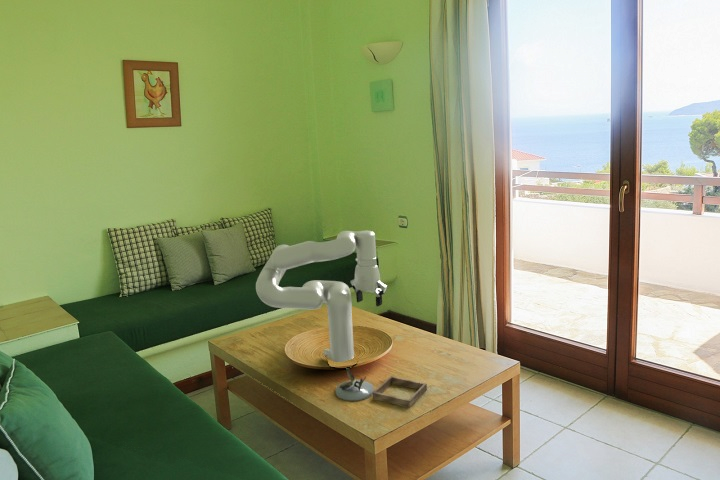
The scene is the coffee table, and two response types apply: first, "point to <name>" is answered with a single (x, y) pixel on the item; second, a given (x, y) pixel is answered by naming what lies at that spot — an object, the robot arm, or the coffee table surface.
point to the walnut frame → (396, 400)
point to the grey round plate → (355, 391)
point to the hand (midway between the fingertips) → (369, 303)
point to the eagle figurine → (352, 381)
